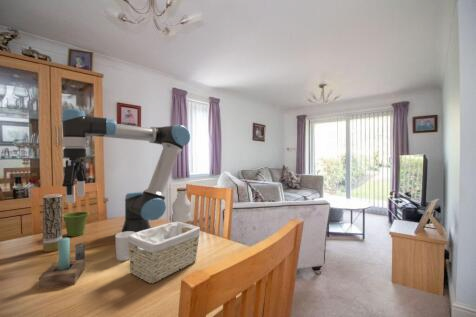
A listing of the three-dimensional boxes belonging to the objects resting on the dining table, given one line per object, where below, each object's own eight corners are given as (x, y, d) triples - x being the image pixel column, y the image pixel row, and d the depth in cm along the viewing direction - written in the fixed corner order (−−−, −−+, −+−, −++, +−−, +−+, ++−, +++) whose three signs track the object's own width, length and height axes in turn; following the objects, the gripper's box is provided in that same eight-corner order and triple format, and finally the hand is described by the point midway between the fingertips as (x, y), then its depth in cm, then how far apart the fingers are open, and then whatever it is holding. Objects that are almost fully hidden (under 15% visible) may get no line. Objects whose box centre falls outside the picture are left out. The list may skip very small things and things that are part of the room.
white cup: (114, 263, 90) (114, 238, 90) (115, 255, 97) (115, 232, 97) (135, 259, 94) (136, 235, 94) (135, 252, 101) (135, 230, 101)
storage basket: (175, 251, 103) (176, 219, 102) (201, 261, 93) (202, 226, 93) (125, 273, 83) (125, 234, 83) (151, 289, 74) (152, 245, 73)
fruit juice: (185, 248, 105) (186, 190, 105) (167, 246, 107) (168, 189, 107) (193, 241, 115) (194, 187, 114) (176, 239, 117) (177, 186, 116)
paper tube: (51, 253, 98) (51, 197, 98) (38, 251, 100) (39, 196, 99) (65, 247, 105) (66, 194, 105) (54, 245, 106) (54, 193, 106)
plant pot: (93, 233, 123) (93, 213, 123) (67, 240, 113) (67, 218, 113) (83, 229, 129) (83, 210, 129) (58, 235, 119) (58, 214, 119)
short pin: (85, 259, 93) (86, 242, 93) (83, 262, 90) (83, 245, 90) (77, 260, 92) (77, 243, 92) (74, 263, 89) (74, 246, 89)
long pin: (71, 275, 81) (71, 237, 81) (67, 280, 78) (67, 240, 78) (60, 276, 80) (60, 238, 80) (56, 281, 77) (56, 241, 77)
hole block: (84, 269, 85) (84, 259, 85) (74, 284, 75) (75, 272, 75) (53, 273, 82) (53, 262, 82) (38, 289, 72) (38, 277, 72)
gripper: (73, 148, 101) (75, 194, 102) (50, 147, 78) (52, 207, 79) (92, 148, 104) (94, 193, 105) (76, 147, 81) (77, 205, 81)
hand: (76, 199), depth 92 cm, fingers open, 13 cm apart
